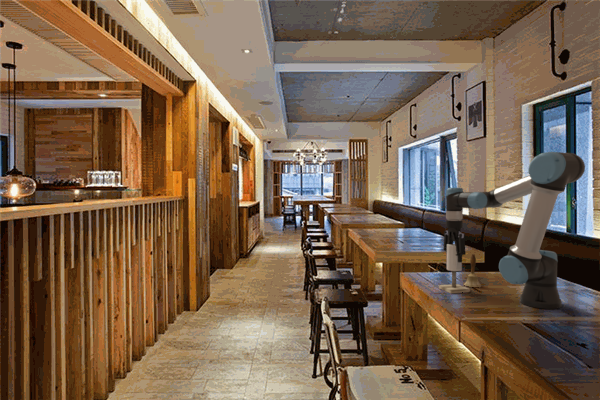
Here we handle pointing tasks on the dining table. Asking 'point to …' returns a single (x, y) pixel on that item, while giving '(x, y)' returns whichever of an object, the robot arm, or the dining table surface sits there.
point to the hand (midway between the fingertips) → (454, 267)
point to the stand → (454, 286)
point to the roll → (451, 258)
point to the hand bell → (472, 274)
